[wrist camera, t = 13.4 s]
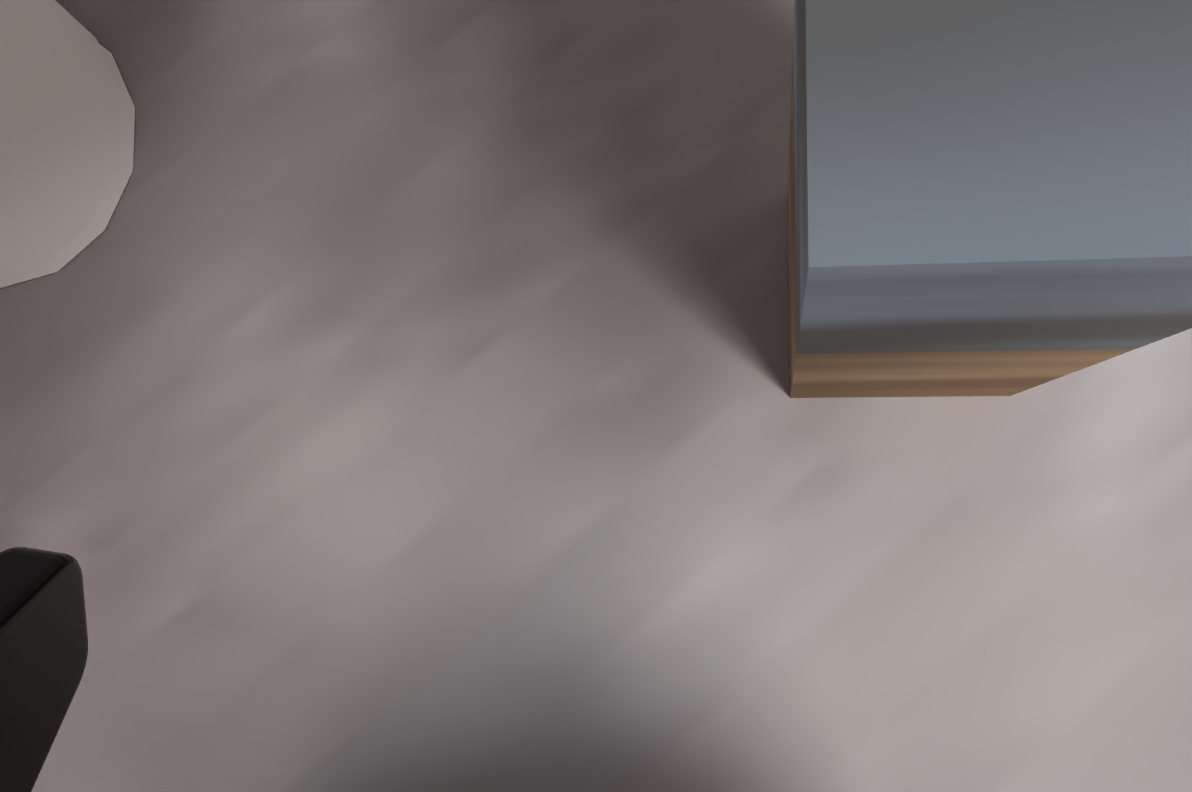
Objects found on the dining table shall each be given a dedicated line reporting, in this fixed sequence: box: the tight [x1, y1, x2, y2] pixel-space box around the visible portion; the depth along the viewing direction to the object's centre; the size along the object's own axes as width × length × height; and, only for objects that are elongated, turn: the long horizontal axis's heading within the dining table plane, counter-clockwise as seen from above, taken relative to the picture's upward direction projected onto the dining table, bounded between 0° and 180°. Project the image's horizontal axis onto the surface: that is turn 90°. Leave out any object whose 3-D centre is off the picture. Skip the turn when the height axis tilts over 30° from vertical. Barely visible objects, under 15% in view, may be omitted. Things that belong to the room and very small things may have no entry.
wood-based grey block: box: [788, 0, 1192, 398], centre depth 14 cm, size 4×4×12 cm
